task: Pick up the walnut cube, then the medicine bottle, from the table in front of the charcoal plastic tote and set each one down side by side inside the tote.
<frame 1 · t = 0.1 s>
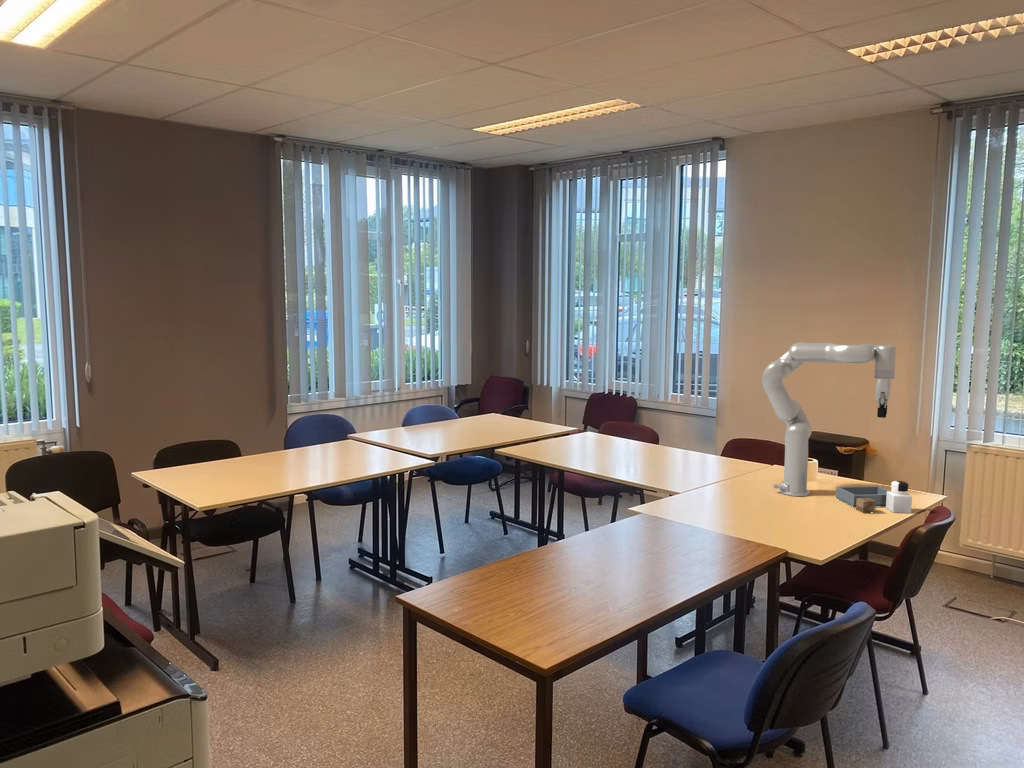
hand: (882, 415, 304), 37 cm above the table, tool pointing down, fingers open, 9 cm apart
tote: (866, 502, 309), on the table
walnut cube: (865, 511, 296), on the table
medicine bottle: (898, 511, 297), on the table
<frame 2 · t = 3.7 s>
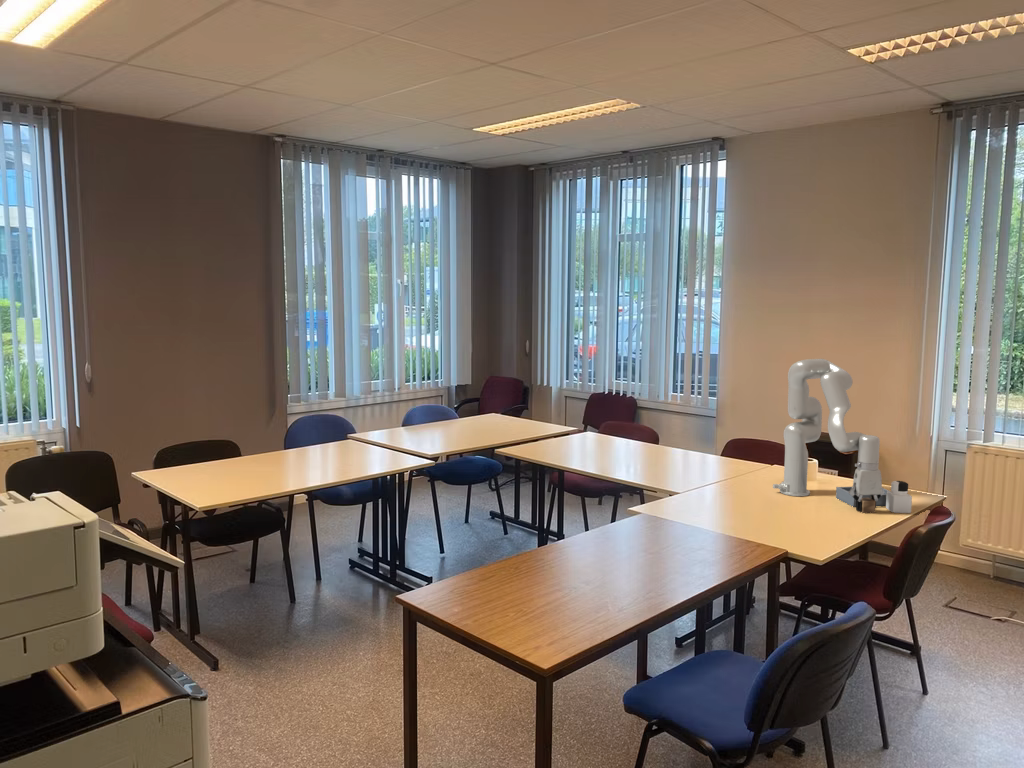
hand: (865, 509, 295), 1 cm above the table, tool pointing down, fingers closed on walnut cube, 5 cm apart
walnut cube: (865, 511, 296), on the table, touching gripper
everything else where it was.
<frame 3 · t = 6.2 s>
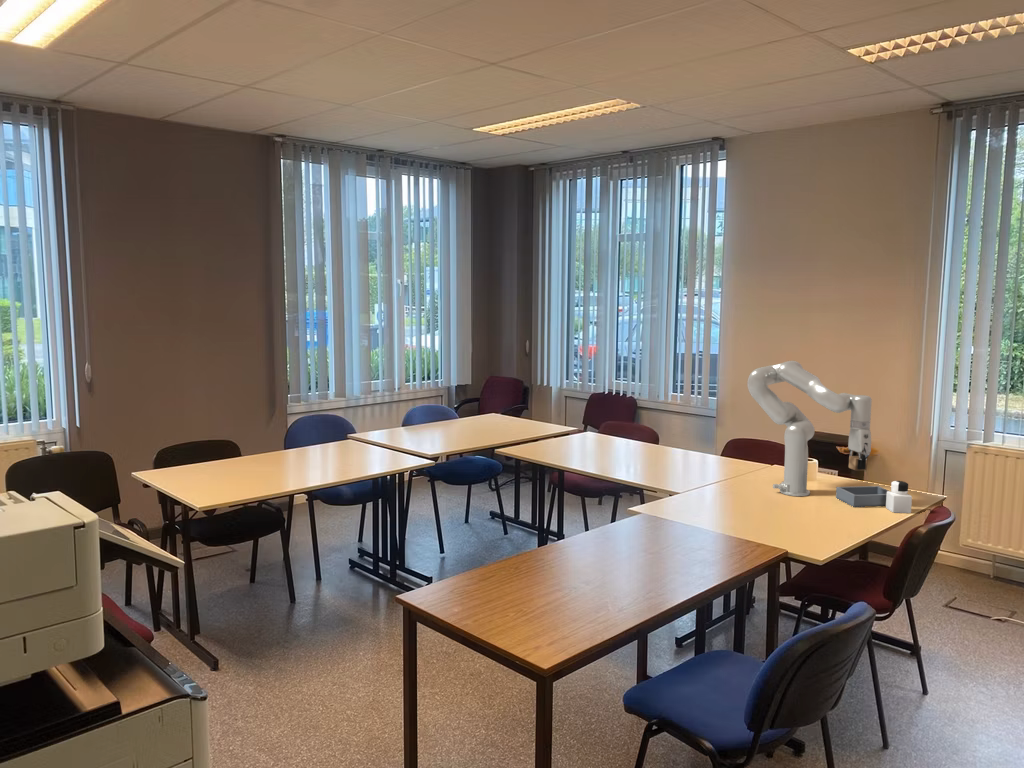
hand: (857, 467, 307), 15 cm above the table, tool pointing down, fingers closed on walnut cube, 4 cm apart
walnut cube: (857, 468, 307), point 15 cm above the table, touching gripper
everything else where it was.
when the fingers open (3 cm above the table, at t = 8.9 s): walnut cube drops 1 cm, resting on tote.
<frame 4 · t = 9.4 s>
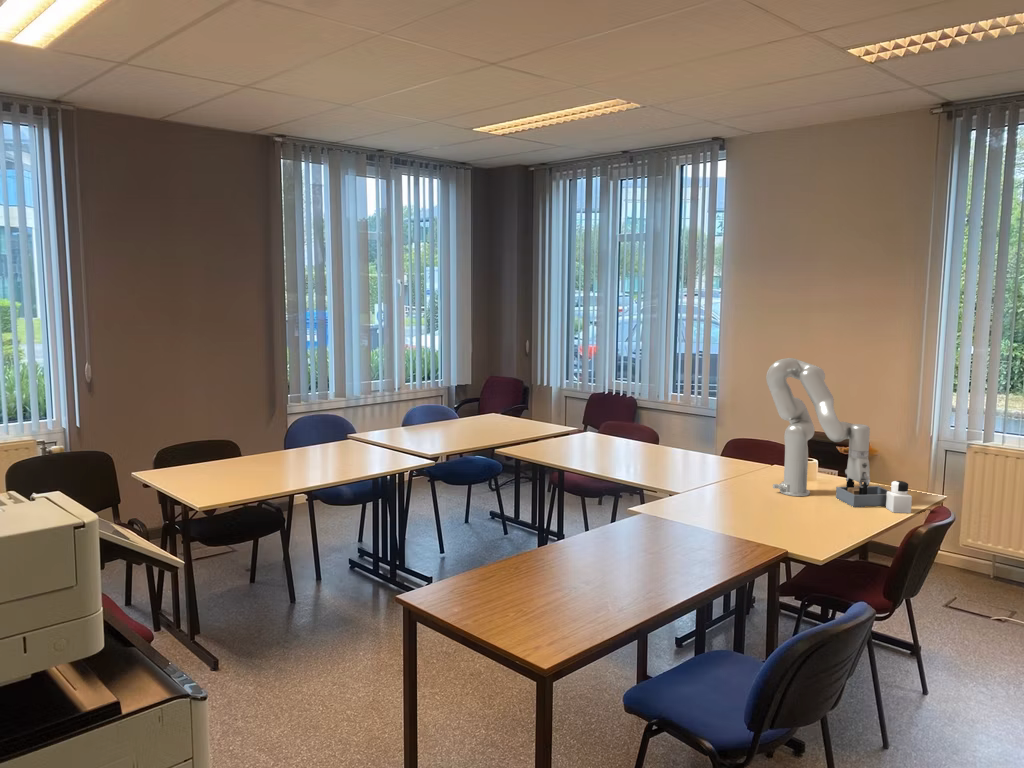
hand: (856, 493, 308), 4 cm above the table, tool pointing down, fingers open, 9 cm apart
walnut cube: (855, 500, 309), point 1 cm above the table, touching tote
everything else where it was.
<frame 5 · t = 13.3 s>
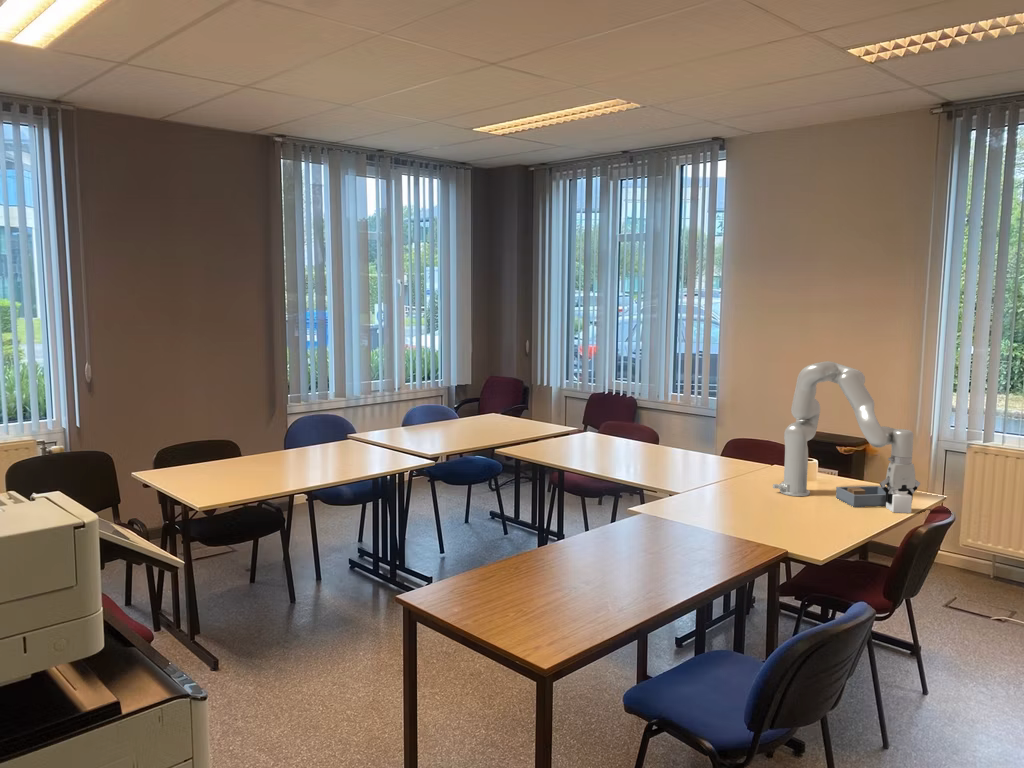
hand: (898, 502, 296), 3 cm above the table, tool pointing down, fingers closed on medicine bottle, 7 cm apart
medicine bottle: (898, 511, 297), on the table, touching gripper
everything else where it was.
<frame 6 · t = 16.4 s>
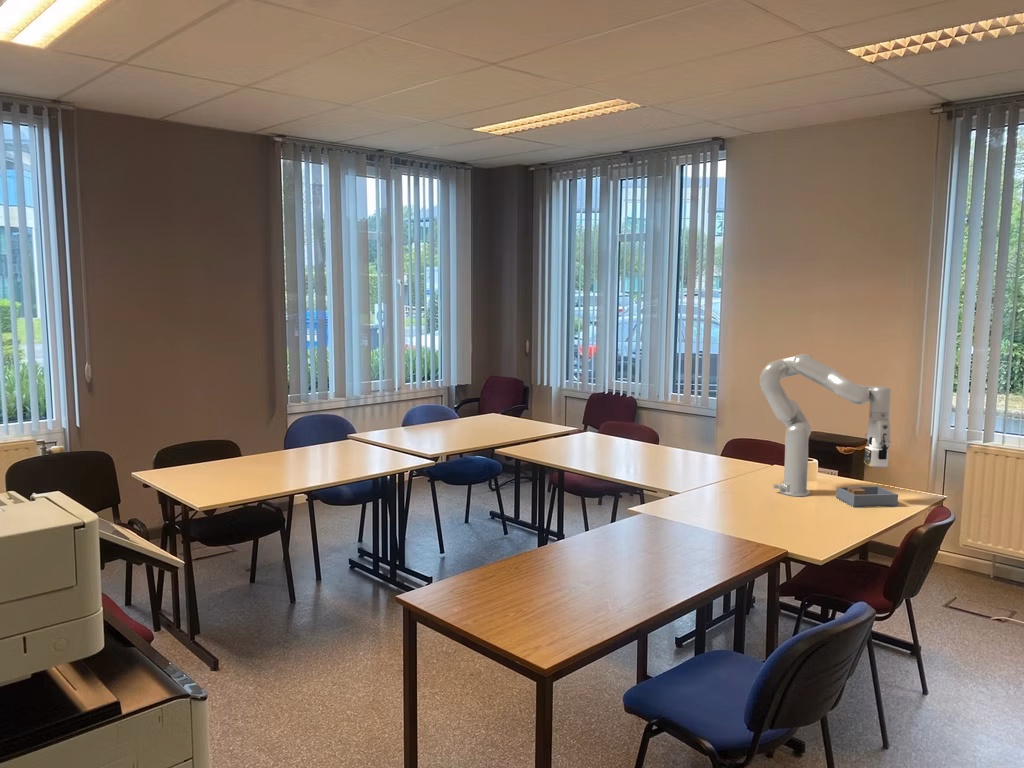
hand: (876, 456, 307), 19 cm above the table, tool pointing down, fingers closed on medicine bottle, 7 cm apart
medicine bottle: (875, 465, 308), point 16 cm above the table, touching gripper
everything else where it was.
when the fingers open (6 cm above the table, at t = 19.4 s): medicine bottle drops 2 cm, resting on tote.
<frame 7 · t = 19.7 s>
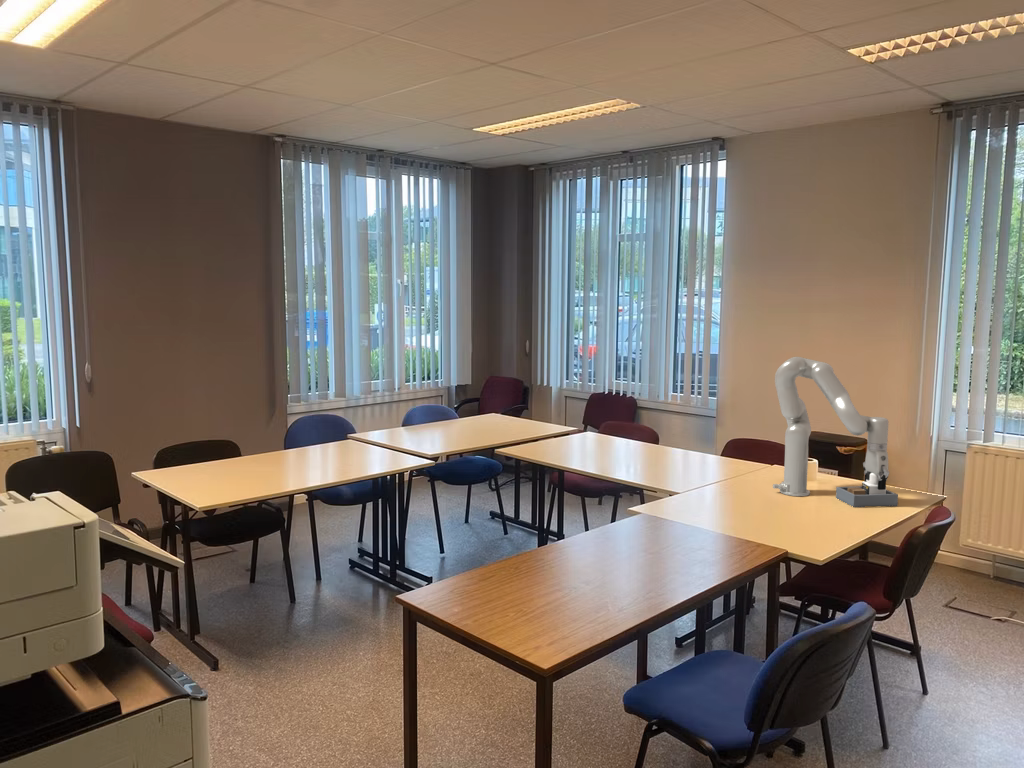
hand: (874, 486, 309), 7 cm above the table, tool pointing down, fingers open, 9 cm apart
medicine bottle: (873, 500, 310), point 1 cm above the table, touching tote
everything else where it was.
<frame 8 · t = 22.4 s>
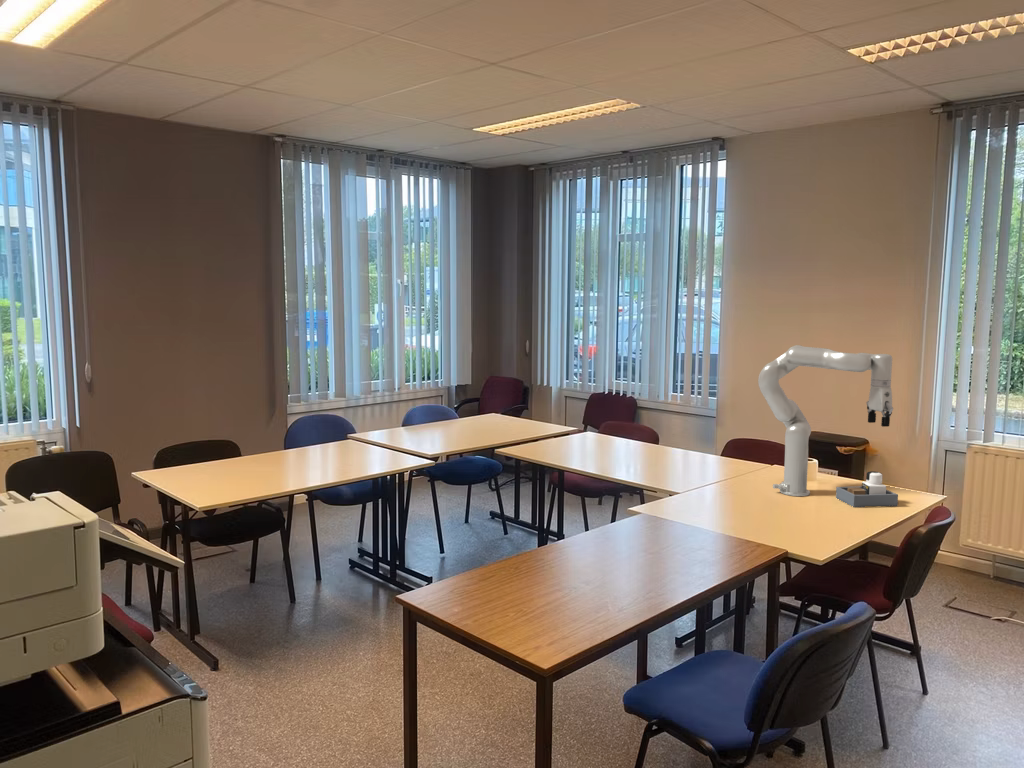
hand: (878, 424, 306), 33 cm above the table, tool pointing down, fingers open, 9 cm apart
nothing on the table moved.
at the end: walnut cube inside the target area on the tote (4.5 cm from its centre), point 0.8 cm above the tote's base; medicine bottle inside the target area on the tote (3.3 cm from its centre), point 0.6 cm above the tote's base; medicine bottle tilted 0° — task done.
